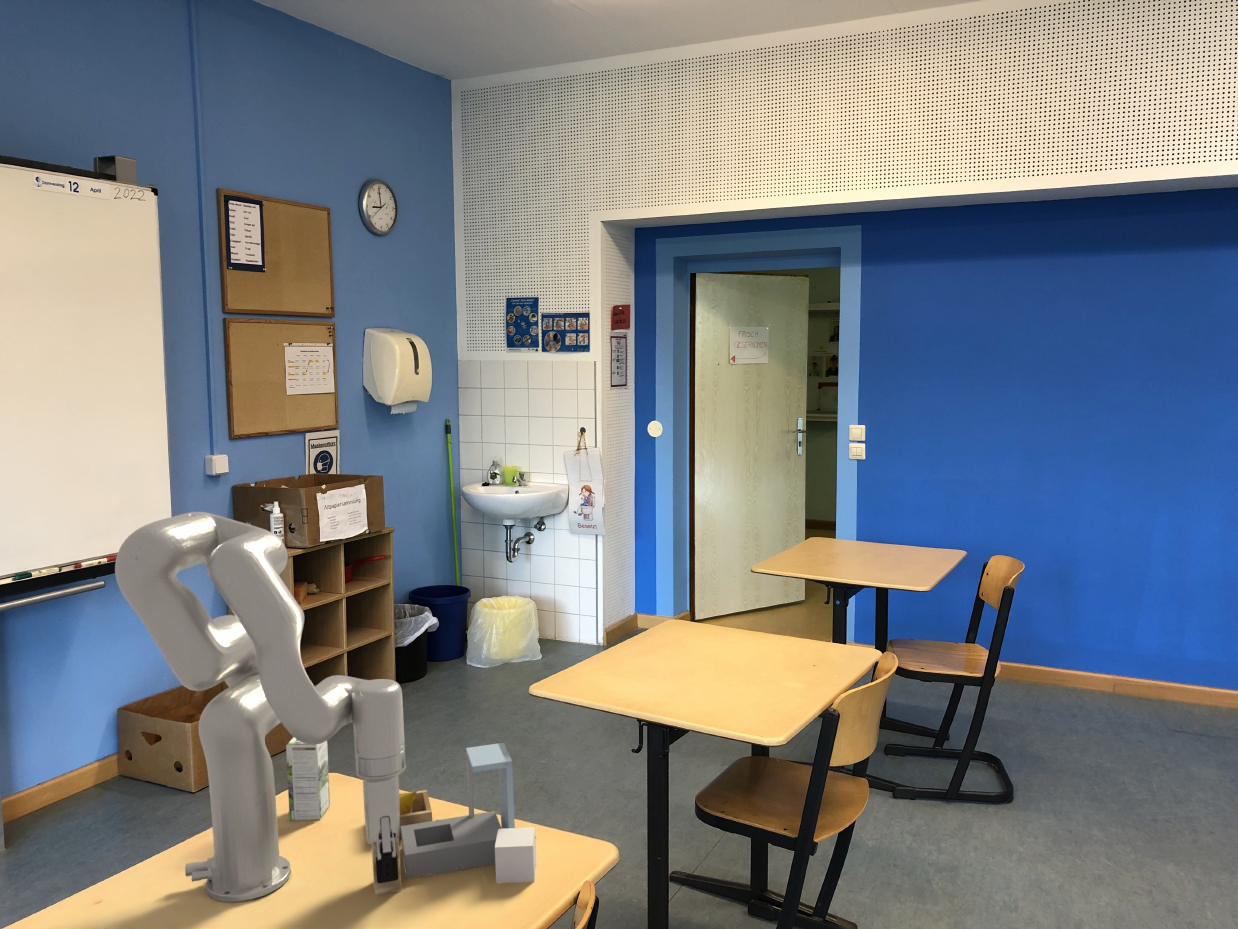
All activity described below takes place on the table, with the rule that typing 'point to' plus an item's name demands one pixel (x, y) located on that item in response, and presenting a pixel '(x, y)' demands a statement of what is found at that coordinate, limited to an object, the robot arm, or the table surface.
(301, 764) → the syrup box
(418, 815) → the divided wooden box
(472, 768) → the blue-grey arch piece
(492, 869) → the table surface
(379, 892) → the peg
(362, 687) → the robot arm
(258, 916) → the table surface
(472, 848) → the socket
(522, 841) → the white block
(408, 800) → the yellow curved piece
